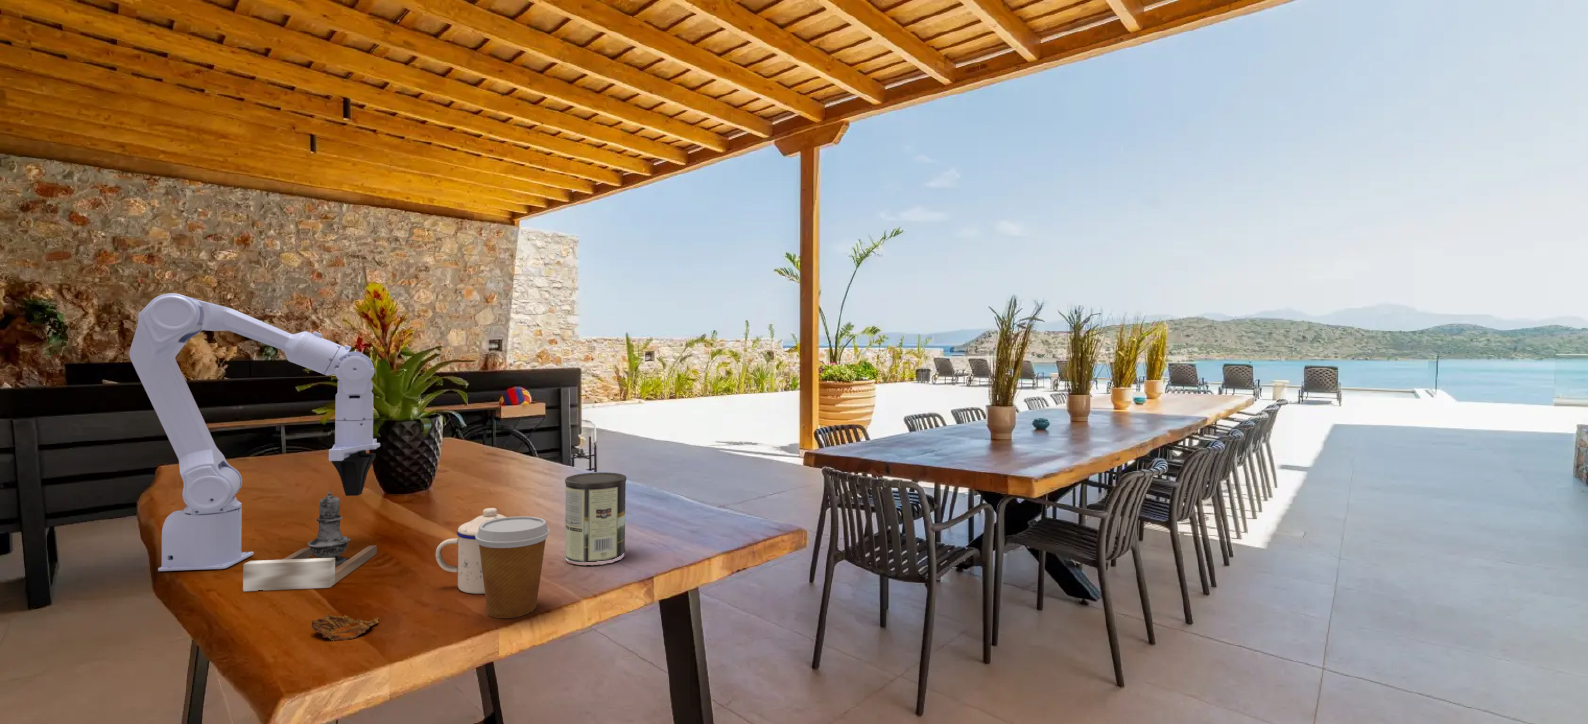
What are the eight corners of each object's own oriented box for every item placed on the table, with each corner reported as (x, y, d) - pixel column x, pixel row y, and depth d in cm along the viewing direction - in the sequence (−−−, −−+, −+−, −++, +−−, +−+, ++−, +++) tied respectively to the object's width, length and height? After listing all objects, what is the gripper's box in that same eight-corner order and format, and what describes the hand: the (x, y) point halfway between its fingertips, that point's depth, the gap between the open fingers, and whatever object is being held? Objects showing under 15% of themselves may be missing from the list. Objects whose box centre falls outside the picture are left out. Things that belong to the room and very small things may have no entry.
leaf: (351, 646, 83) (354, 633, 83) (299, 637, 83) (302, 623, 83) (387, 630, 89) (389, 617, 89) (338, 621, 90) (340, 609, 90)
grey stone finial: (358, 558, 115) (359, 488, 115) (331, 569, 110) (332, 495, 109) (326, 556, 116) (327, 486, 116) (298, 567, 110) (298, 493, 110)
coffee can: (597, 545, 125) (598, 470, 125) (637, 555, 120) (638, 476, 120) (551, 559, 117) (552, 478, 116) (591, 570, 111) (593, 485, 111)
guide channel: (243, 591, 99) (243, 564, 99) (303, 556, 116) (303, 533, 115) (329, 587, 101) (330, 561, 101) (376, 554, 118) (376, 531, 118)
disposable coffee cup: (555, 615, 92) (556, 527, 92) (479, 629, 87) (480, 536, 87) (540, 593, 100) (541, 512, 100) (469, 605, 95) (470, 520, 95)
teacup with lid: (524, 573, 109) (525, 501, 109) (516, 593, 100) (517, 514, 100) (443, 578, 106) (443, 504, 106) (427, 599, 97) (428, 518, 97)
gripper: (361, 423, 115) (360, 503, 115) (394, 415, 129) (393, 486, 129) (315, 423, 114) (314, 504, 114) (353, 415, 128) (352, 487, 128)
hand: (353, 495), depth 121 cm, fingers closed
